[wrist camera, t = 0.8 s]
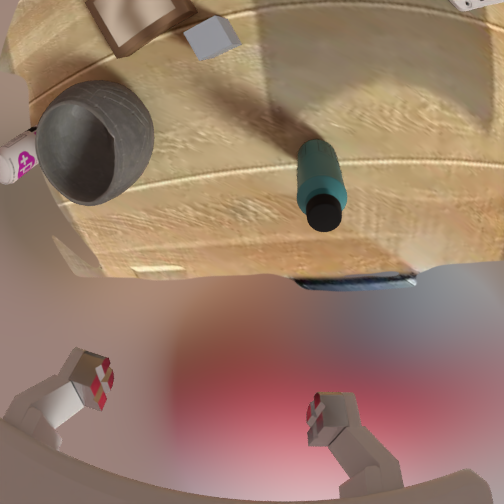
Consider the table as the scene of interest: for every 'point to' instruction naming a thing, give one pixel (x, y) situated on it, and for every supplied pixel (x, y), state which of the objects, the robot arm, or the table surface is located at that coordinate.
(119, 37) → the base
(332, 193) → the beverage bottle
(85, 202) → the bowl
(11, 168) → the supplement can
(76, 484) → the robot arm
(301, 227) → the table surface
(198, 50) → the block
